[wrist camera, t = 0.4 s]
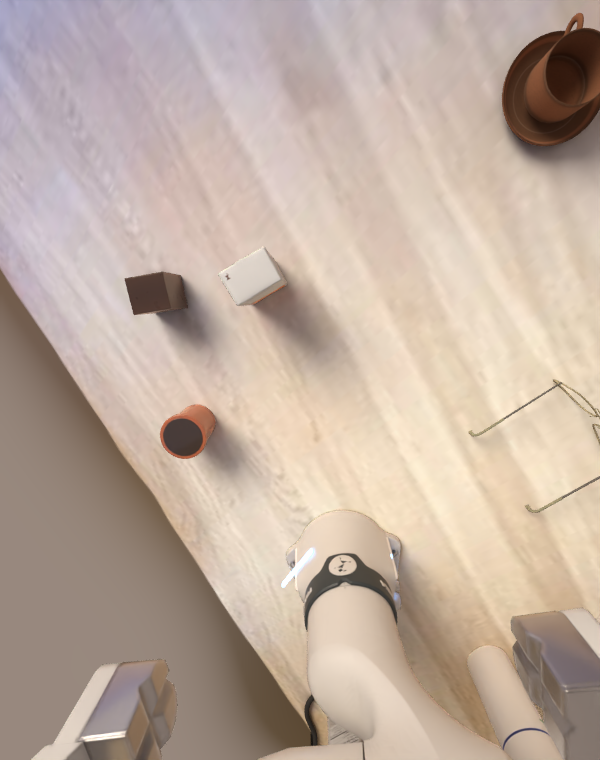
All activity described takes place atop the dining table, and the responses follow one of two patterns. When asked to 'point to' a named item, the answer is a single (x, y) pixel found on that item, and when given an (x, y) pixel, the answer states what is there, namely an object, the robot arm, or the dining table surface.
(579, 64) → the cup and saucer
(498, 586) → the dining table surface
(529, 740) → the cylindrical container
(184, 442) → the flower pot
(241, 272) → the cosmetic box
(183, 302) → the walnut block
